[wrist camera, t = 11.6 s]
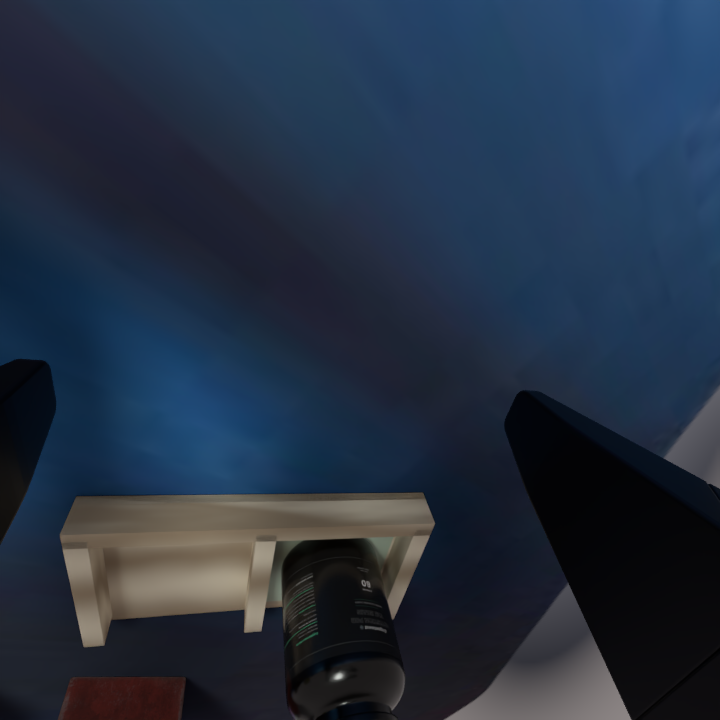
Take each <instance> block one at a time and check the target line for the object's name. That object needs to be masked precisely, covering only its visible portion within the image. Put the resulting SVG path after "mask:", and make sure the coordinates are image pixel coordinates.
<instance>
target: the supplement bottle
mask: <svg viewBox="0 0 720 720" xmlns="http://www.w3.org/2000/svg"><path fill="white" fill-rule="evenodd" d="M281 589H282V613H283V636H284V659H285V683H286V699H287V706H288V709H289V711H290V713H291V715H292V717H293V718H294V720H398V718H397V717H396V716H395V715H393V714H392V710H393V709H394V708H395V706H396V705H397V704H398V702H399V700H400V699H401V696H402V694H403V691H404V686H405V672H404V667H403V662H402V658H401V654H400V650H399V646H398V641H397V637H396V633H395V629H394V625H393V621H392V617H391V613H390V609H389V604H388V600H387V596H386V592H385V588H384V584H383V580H382V576H381V571H380V567H379V564H378V560H377V556H376V553H375V550H374V548H373V546H372V545H371V544H370V543H369V542H368V541H367V540H366V539H365V538H348V539H322V540H303V541H301V542H300V543H298V544H297V545H296V546H295V547H293V548H292V549H291V550H290V552H289V553H288V554H287V556H286V557H285V559H284V561H283V564H282V568H281Z"/></svg>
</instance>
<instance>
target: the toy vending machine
mask: <svg viewBox="0 0 720 720" xmlns="http://www.w3.org/2000/svg"><path fill="white" fill-rule="evenodd" d="M185 684H186V677H73V678H71V679H70V682H69V685H68V688H67V692H66V695H65V698H64V701H63V704H62V708H61V711H60V714H59V717H58V720H181V717H182V709H183V700H184V692H185Z"/></svg>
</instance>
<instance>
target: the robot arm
mask: <svg viewBox="0 0 720 720" xmlns="http://www.w3.org/2000/svg"><path fill="white" fill-rule="evenodd" d="M55 411H56V397H55V391H54V386H53V380H52V374H51V369H50V367H49V365H48V363H47V362H45V361H43V360H30V359H16V360H13V361H11V362H9V363H6V364H4V365H2V366H0V544H1V542H2V541H3V539H4V537H5V535H6V533H7V531H8V529H9V527H10V525H11V523H12V521H13V519H14V517H15V515H16V513H17V511H18V509H19V507H20V505H21V503H22V501H23V499H24V497H25V495H26V492H27V490H28V487H29V485H30V482H31V479H32V477H33V474H34V471H35V468H36V465H37V463H38V460H39V457H40V454H41V451H42V449H43V446H44V443H45V440H46V438H47V435H48V432H49V429H50V426H51V424H52V421H53V418H54V415H55ZM504 427H505V432H506V435H507V438H508V441H509V443H510V446H511V449H512V452H513V455H514V458H515V461H516V464H517V467H518V469H519V472H520V475H521V478H522V481H523V484H524V486H525V489H526V491H527V494H528V496H529V498H530V501H531V503H532V505H533V507H534V509H535V512H536V514H537V516H538V518H539V520H540V522H541V525H542V527H543V529H544V531H545V533H546V535H547V538H548V540H549V542H550V544H551V546H552V548H553V551H554V553H555V555H556V557H557V559H558V561H559V564H560V566H561V568H562V570H563V572H564V574H565V577H566V579H567V581H568V583H569V585H570V587H571V589H572V592H573V594H574V596H575V598H576V600H577V603H578V605H579V607H580V609H581V611H582V613H583V616H584V618H585V620H586V622H587V624H588V627H589V629H590V631H591V633H592V635H593V637H594V639H595V642H596V644H597V646H598V648H599V650H600V652H601V655H602V657H603V659H604V661H605V663H606V666H607V668H608V670H609V672H610V674H611V676H612V678H613V681H614V683H615V685H616V687H617V689H618V691H619V694H620V696H621V698H622V700H623V702H624V705H625V707H626V709H627V711H628V713H629V715H630V717H631V719H632V720H720V489H719V488H717V487H715V486H713V485H712V484H707V483H706V481H704V480H702V479H700V478H699V477H696V476H695V475H693V474H691V473H689V472H687V471H686V470H684V469H682V468H680V467H678V466H676V465H674V464H673V463H671V462H669V461H667V460H665V459H663V458H662V457H660V456H658V455H656V454H654V453H652V452H650V451H649V450H647V449H645V448H643V447H641V446H639V445H637V444H636V443H634V442H632V441H630V440H628V439H626V438H624V437H623V436H621V435H619V434H617V433H615V432H613V431H612V430H610V429H608V428H606V427H604V426H602V425H600V424H599V423H597V422H595V421H593V420H591V419H589V418H587V417H586V416H584V415H582V414H580V413H578V412H576V411H574V410H573V409H571V408H569V407H567V406H565V405H563V404H562V403H560V402H558V401H556V400H554V399H552V398H550V397H549V396H547V395H545V394H543V393H541V392H539V391H528V390H523V391H520V392H519V393H518V394H517V395H516V397H515V399H514V401H513V404H512V406H511V408H510V410H509V412H508V414H507V416H506V419H505V423H504Z"/></svg>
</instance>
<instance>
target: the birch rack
mask: <svg viewBox="0 0 720 720" xmlns="http://www.w3.org/2000/svg"><path fill="white" fill-rule="evenodd" d="M434 525H435V522H434V519H433V517H432V514H431V512H430V509H429V507H428V504H427V502H426V499H425V497H424V494H423V493H344V494H248V495H152V496H76V498H75V501H74V503H73V505H72V508H71V510H70V512H69V515H68V517H67V519H66V522H65V524H64V526H63V528H62V531H61V533H60V539H61V544H62V548H63V553H64V558H65V562H66V567H67V572H68V576H69V581H70V586H71V590H72V595H73V600H74V604H75V609H76V613H77V618H78V623H79V627H80V632H81V637H82V641H83V646H84V647H93V646H104V644H105V641H106V637H107V633H108V629H109V626H110V622H111V620H116V619H129V618H142V617H155V616H168V615H181V614H194V613H207V612H219V611H232V610H245V620H244V633H247V632H258V631H261V630H262V624H263V618H264V612H265V608H271V607H282V589H281V568H282V564H283V561H284V559H285V557H286V556H287V554H288V553H289V552H290V550H291V549H292V548H293V547H295V546H296V545H297V544H298V543H300V542H301V541H303V540H322V539H348V538H365V539H366V540H367V541H368V542H369V543H370V544H371V545H372V546H373V548H374V550H375V553H376V556H377V560H378V564H379V567H380V571H381V576H382V580H383V584H384V588H385V592H386V596H387V600H388V604H389V609H390V613H391V617H392V619H394V617H395V615H396V613H397V611H398V608H399V606H400V604H401V601H402V599H403V597H404V594H405V592H406V590H407V587H408V585H409V583H410V580H411V578H412V576H413V574H414V571H415V569H416V567H417V564H418V562H419V560H420V557H421V555H422V553H423V550H424V548H425V546H426V543H427V541H428V539H429V537H430V534H431V532H432V530H433V527H434Z"/></svg>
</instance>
